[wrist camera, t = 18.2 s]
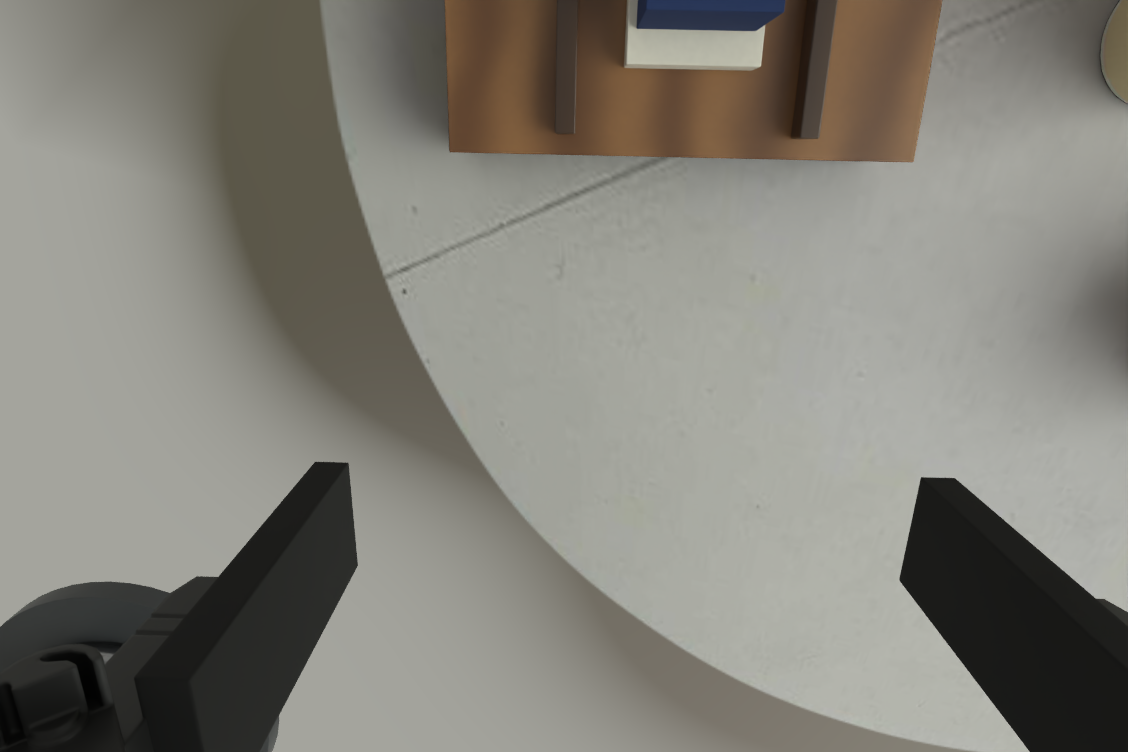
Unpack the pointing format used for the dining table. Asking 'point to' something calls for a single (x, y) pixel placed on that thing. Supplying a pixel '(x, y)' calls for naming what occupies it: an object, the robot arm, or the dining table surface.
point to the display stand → (689, 84)
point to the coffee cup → (1116, 51)
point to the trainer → (697, 33)
